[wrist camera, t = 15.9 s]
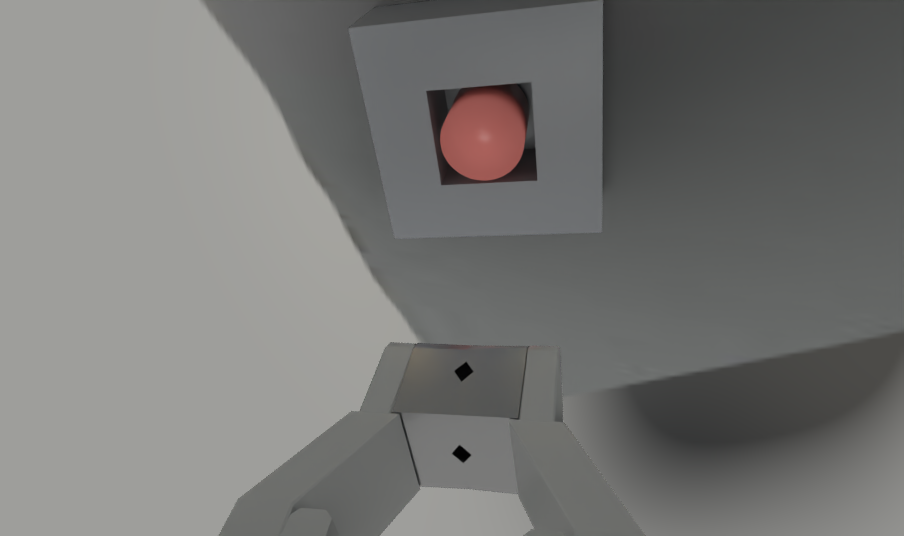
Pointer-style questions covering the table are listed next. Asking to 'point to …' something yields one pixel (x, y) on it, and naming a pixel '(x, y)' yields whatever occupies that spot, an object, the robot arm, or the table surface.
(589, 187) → the button console
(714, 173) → the table surface
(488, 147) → the button
